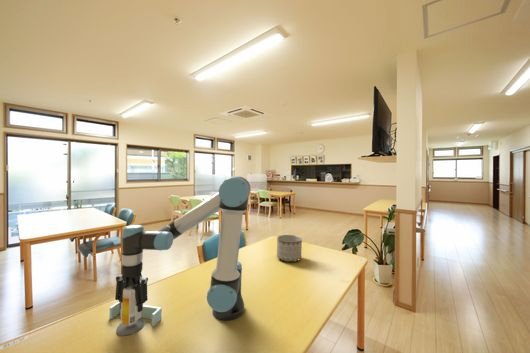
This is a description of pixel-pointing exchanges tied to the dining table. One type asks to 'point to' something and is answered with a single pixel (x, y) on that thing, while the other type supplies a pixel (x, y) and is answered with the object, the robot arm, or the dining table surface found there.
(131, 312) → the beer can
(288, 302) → the dining table surface
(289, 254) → the planter
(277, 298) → the dining table surface
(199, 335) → the dining table surface
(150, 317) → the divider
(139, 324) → the coaster
